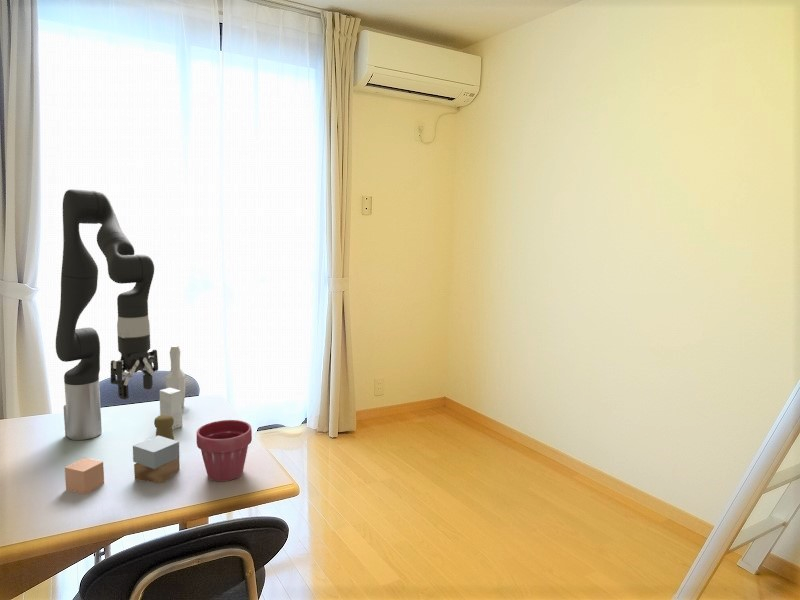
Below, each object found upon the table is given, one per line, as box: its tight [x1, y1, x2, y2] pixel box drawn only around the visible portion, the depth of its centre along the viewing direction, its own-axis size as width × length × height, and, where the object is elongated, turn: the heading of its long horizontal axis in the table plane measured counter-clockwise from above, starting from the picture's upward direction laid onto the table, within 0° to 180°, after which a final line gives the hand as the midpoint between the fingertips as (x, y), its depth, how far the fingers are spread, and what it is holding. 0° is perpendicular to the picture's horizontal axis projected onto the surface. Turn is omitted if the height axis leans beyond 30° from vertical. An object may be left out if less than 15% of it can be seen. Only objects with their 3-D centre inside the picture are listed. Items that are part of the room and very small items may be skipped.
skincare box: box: [158, 388, 184, 430], centre depth 185 cm, size 6×4×12 cm
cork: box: [153, 414, 175, 440], centre depth 165 cm, size 6×6×11 cm
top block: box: [132, 435, 180, 469], centre depth 151 cm, size 8×8×4 cm
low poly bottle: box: [165, 345, 187, 408], centre depth 201 cm, size 6×6×22 cm
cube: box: [64, 457, 105, 495], centre depth 144 cm, size 6×6×6 cm
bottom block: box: [133, 458, 180, 484], centre depth 152 cm, size 8×8×4 cm
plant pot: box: [196, 419, 253, 482], centre depth 153 cm, size 14×14×13 cm
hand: (136, 393), depth 149 cm, fingers open, 8 cm apart
